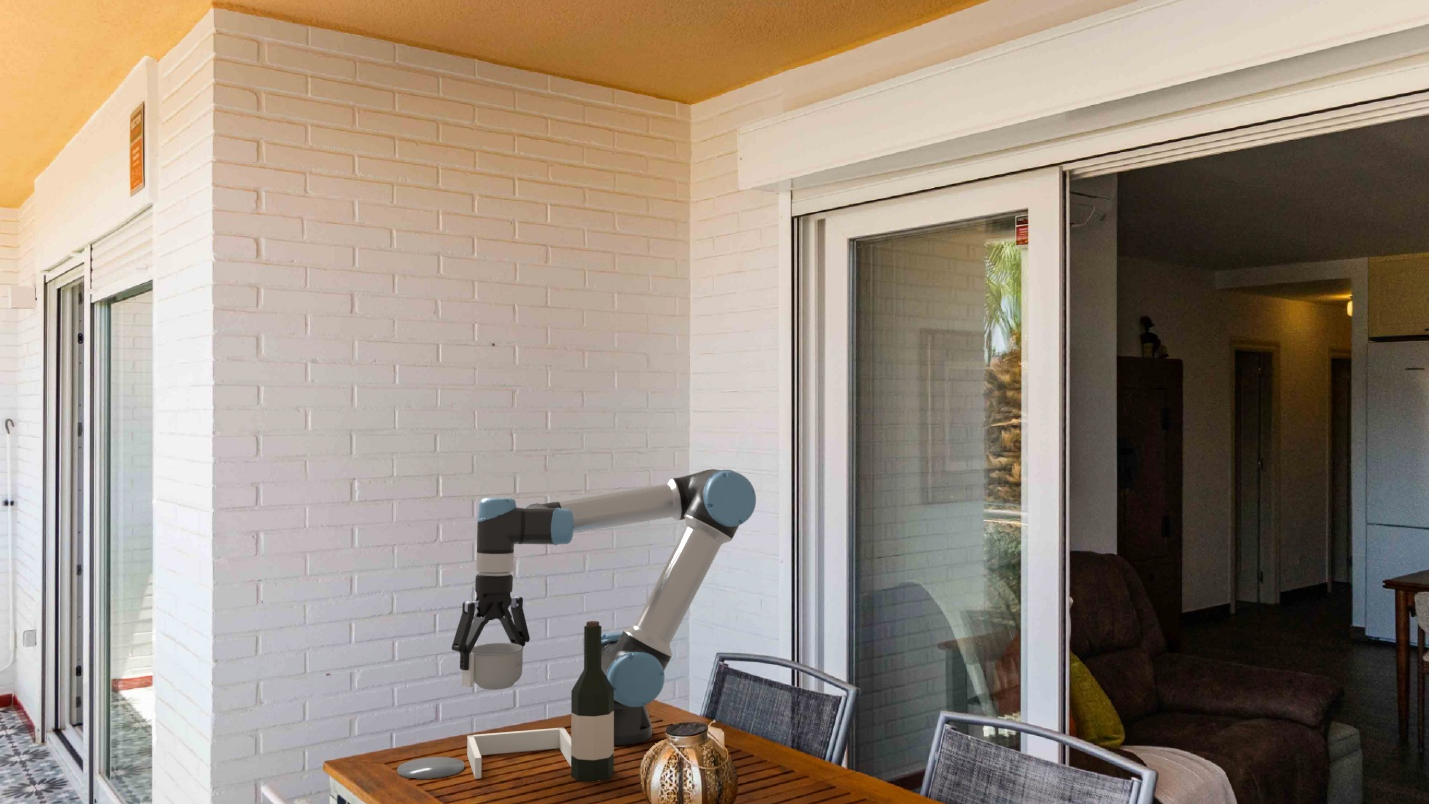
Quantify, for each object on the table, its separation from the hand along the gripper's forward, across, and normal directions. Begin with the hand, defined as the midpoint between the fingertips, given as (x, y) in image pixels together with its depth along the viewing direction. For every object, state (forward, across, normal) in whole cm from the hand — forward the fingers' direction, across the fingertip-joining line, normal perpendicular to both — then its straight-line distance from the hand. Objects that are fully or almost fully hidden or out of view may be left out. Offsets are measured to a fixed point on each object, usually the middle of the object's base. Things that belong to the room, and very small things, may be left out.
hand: (490, 682), depth 221 cm
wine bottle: (+16, -9, +21) cm, 28 cm away
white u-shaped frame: (+17, -6, +4) cm, 18 cm away
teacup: (+1, -1, 0) cm, 1 cm away
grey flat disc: (+17, +9, -6) cm, 20 cm away
